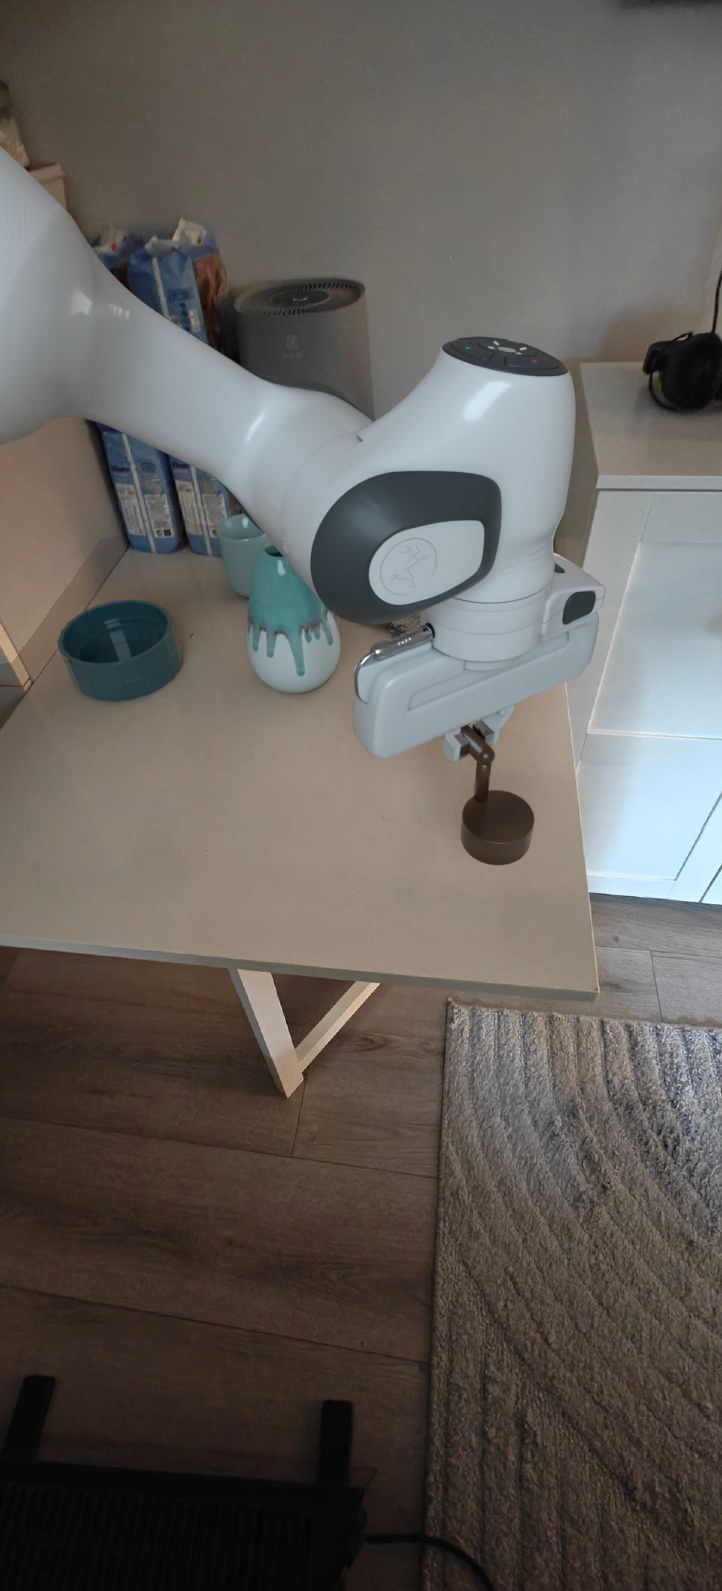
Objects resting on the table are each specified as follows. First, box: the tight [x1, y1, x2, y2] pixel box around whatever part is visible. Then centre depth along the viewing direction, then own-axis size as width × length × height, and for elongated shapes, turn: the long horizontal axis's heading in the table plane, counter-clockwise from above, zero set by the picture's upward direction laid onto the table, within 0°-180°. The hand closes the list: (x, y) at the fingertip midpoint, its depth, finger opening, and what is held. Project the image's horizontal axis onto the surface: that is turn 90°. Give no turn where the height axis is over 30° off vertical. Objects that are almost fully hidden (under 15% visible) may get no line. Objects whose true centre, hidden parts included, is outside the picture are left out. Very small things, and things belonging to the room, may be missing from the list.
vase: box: [245, 542, 342, 694], centre depth 87 cm, size 12×12×18 cm
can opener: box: [377, 622, 411, 638], centre depth 99 cm, size 9×2×1 cm, turn 44°
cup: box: [216, 513, 271, 599], centre depth 104 cm, size 8×8×10 cm
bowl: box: [57, 598, 183, 702], centre depth 94 cm, size 14×14×6 cm
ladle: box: [460, 724, 535, 866], centre depth 64 cm, size 19×6×9 cm, turn 29°
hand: (470, 748), depth 61 cm, fingers closed on ladle
